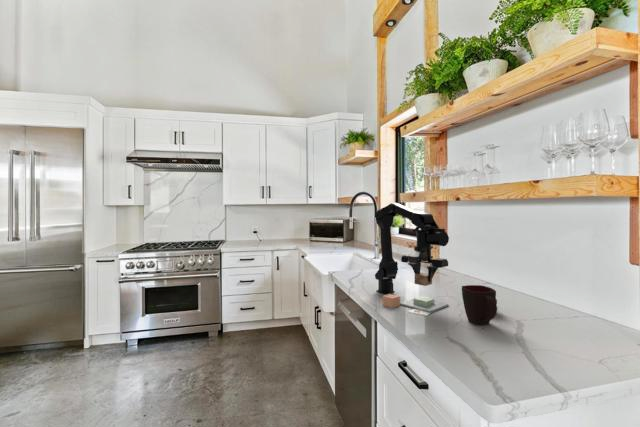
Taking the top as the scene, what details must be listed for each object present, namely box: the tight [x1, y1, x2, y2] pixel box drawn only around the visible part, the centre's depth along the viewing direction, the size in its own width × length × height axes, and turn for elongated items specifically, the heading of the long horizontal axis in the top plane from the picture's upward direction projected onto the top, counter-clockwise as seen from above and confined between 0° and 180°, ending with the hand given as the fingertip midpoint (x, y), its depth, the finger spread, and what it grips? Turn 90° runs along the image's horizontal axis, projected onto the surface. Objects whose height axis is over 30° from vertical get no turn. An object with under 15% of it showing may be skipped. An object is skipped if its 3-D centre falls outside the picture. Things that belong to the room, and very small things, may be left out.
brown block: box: [414, 272, 433, 287], centre depth 133 cm, size 5×5×4 cm
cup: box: [461, 284, 498, 326], centre depth 111 cm, size 10×14×12 cm
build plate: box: [400, 295, 449, 314], centre depth 133 cm, size 14×14×3 cm
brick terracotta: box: [382, 293, 401, 309], centre depth 133 cm, size 5×5×4 cm
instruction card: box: [408, 308, 431, 317], centre depth 124 cm, size 7×5×1 cm
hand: (423, 281), depth 133 cm, fingers closed on brown block, 5 cm apart
